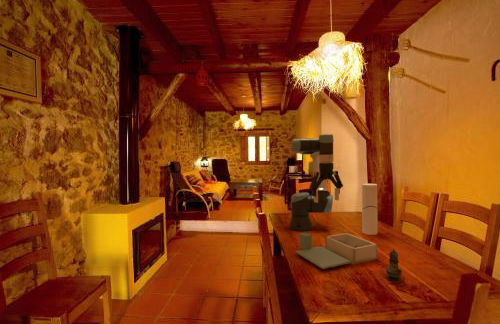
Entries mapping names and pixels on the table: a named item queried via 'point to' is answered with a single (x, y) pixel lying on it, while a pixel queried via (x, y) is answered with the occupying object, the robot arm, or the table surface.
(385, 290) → the table surface
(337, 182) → the robot arm
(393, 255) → the dark statuette
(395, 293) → the table surface
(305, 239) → the lid
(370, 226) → the container
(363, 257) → the tub
